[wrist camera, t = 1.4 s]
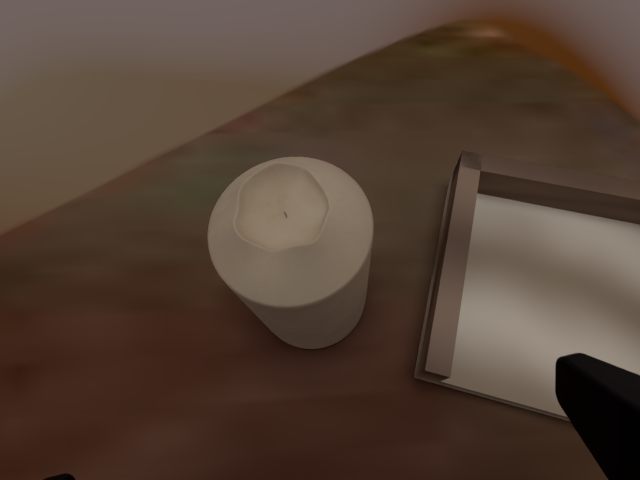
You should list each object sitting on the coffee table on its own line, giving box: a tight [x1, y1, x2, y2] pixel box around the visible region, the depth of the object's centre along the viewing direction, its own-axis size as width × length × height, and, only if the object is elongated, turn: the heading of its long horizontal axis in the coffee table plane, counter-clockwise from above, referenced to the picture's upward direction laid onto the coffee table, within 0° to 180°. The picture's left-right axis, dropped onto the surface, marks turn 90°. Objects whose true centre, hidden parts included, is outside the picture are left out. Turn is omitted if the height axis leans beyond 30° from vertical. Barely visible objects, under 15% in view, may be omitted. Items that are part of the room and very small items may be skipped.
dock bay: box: [414, 151, 640, 421], centre depth 18 cm, size 11×11×3 cm
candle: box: [208, 157, 374, 349], centre depth 16 cm, size 6×6×10 cm
